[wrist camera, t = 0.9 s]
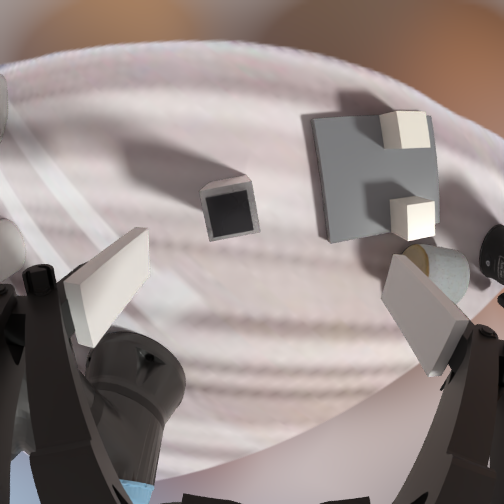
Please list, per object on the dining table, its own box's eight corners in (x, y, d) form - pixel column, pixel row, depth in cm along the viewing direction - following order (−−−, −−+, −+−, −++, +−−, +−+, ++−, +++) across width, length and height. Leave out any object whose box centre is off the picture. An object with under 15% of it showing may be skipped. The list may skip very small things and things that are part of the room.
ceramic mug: (401, 234, 34) (435, 254, 27) (444, 242, 35) (478, 261, 27) (379, 308, 37) (405, 338, 30) (422, 309, 38) (449, 336, 31)
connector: (217, 217, 32) (208, 245, 22) (210, 181, 31) (197, 192, 20) (253, 210, 32) (261, 235, 22) (246, 174, 31) (252, 181, 20)
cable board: (327, 240, 34) (342, 254, 29) (310, 120, 29) (324, 113, 24) (434, 220, 34) (458, 230, 29) (425, 116, 29) (450, 113, 24)
